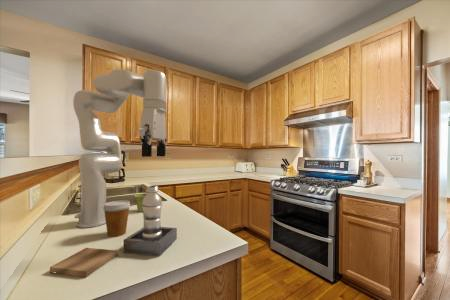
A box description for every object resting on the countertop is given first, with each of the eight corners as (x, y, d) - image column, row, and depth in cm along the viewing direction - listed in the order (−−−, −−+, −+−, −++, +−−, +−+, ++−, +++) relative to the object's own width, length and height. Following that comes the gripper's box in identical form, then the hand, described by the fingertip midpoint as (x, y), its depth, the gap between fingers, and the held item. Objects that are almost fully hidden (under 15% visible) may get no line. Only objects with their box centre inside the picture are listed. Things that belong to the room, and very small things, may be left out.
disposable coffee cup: (135, 230, 80) (135, 201, 81) (115, 240, 71) (116, 206, 72) (117, 227, 83) (118, 199, 84) (96, 236, 74) (96, 204, 75)
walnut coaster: (49, 273, 52) (49, 267, 52) (86, 252, 62) (86, 247, 62) (86, 277, 50) (86, 271, 50) (117, 255, 61) (117, 250, 61)
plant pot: (130, 212, 105) (130, 196, 106) (140, 208, 115) (141, 193, 115) (146, 213, 104) (146, 197, 104) (155, 208, 113) (155, 193, 113)
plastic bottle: (155, 250, 63) (156, 188, 64) (137, 248, 65) (137, 187, 65) (165, 242, 70) (166, 185, 70) (148, 240, 71) (149, 184, 72)
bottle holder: (123, 252, 62) (123, 239, 62) (145, 236, 74) (145, 226, 74) (160, 256, 60) (160, 242, 60) (176, 239, 72) (176, 227, 72)
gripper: (157, 113, 78) (156, 156, 78) (129, 101, 61) (128, 156, 61) (175, 112, 77) (174, 156, 76) (151, 100, 60) (151, 156, 59)
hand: (154, 156), depth 69 cm, fingers open, 9 cm apart
